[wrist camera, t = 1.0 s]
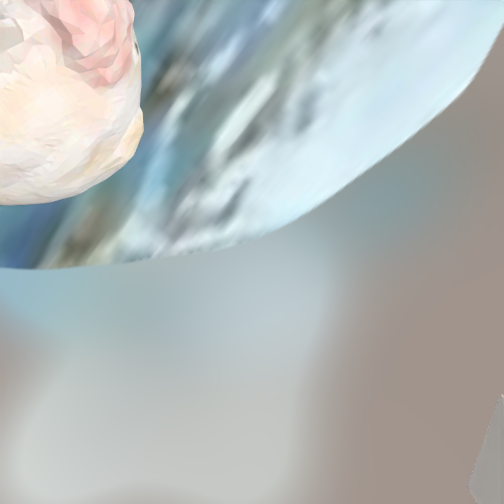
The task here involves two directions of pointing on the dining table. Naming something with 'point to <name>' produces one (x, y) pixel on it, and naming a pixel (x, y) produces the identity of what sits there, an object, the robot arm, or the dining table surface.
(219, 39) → the dining table surface
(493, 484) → the robot arm
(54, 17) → the white garlic bulb
